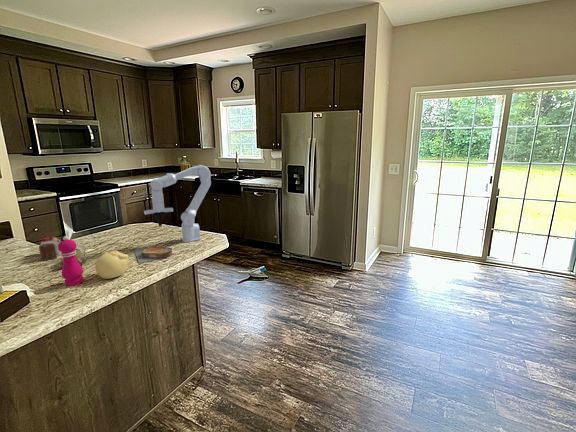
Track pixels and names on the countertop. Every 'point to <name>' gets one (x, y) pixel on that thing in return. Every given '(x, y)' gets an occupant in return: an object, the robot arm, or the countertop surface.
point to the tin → (156, 252)
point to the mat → (143, 259)
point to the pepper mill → (70, 263)
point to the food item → (49, 248)
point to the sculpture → (111, 264)
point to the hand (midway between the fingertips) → (160, 225)
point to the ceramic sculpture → (77, 256)
